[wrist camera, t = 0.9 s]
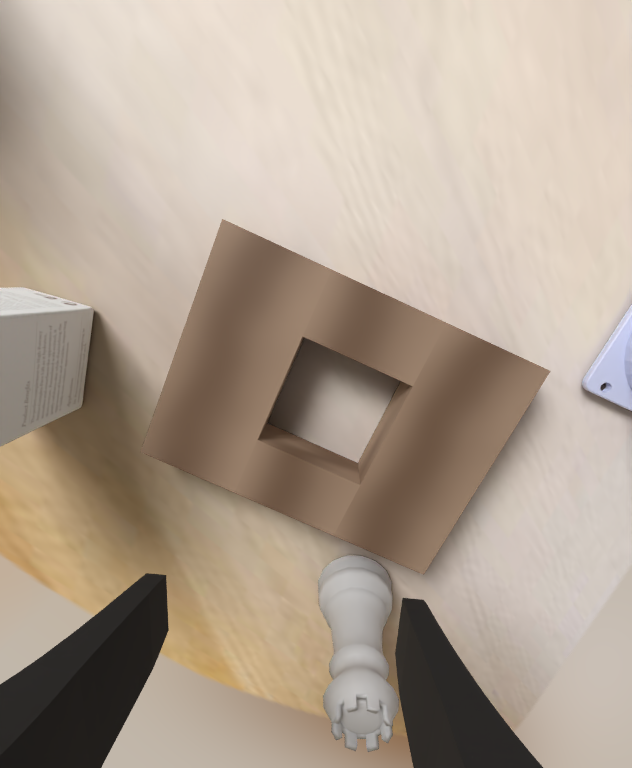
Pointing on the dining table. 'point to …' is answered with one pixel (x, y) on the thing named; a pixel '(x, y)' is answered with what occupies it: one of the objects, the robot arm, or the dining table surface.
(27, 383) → the skincare box
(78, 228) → the dining table surface
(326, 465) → the socket board
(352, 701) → the rook chess piece
